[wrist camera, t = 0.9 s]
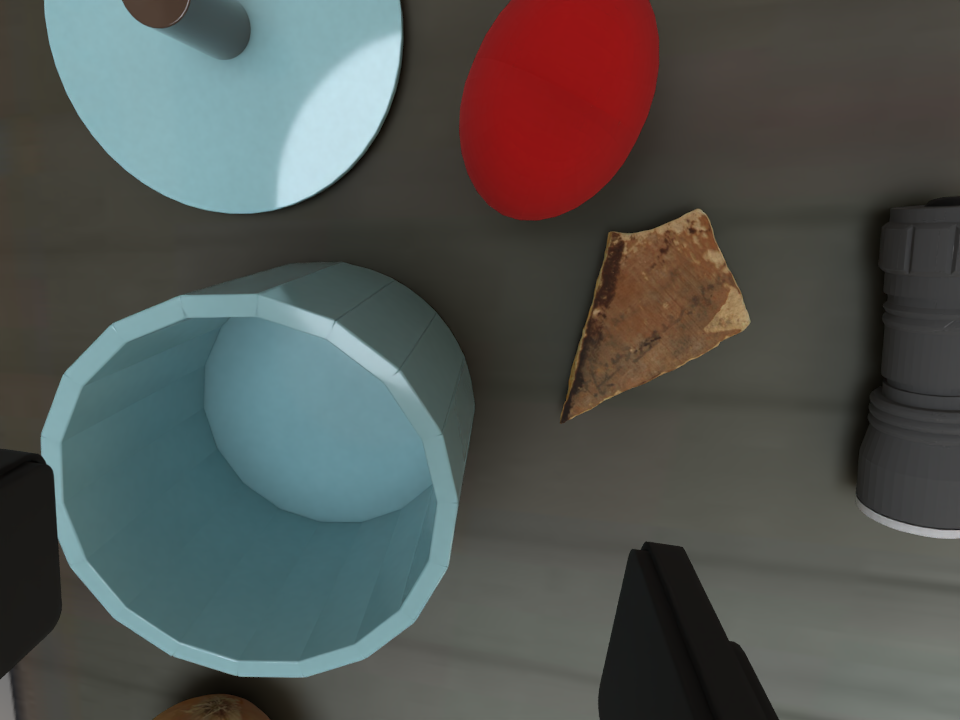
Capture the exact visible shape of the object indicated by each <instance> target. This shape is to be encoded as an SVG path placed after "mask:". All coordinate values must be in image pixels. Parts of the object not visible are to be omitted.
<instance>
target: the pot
mask: <svg viewBox="0 0 960 720" xmlns="http://www.w3.org/2000/svg"><path fill="white" fill-rule="evenodd" d="M474 412H475V401H474V396H473V389H472V382H471V377H470V374H469V370H468V367H467V363H466V359H465V357H464V354H463V353H462V351H461V349H460V346H459V344H458V342H457V341H456V339H455V337H454V336H453V334H452V332H451V331H450V329H449V327H448V326H447V325H446V324H445V322H444V321H443V320H442V319H441V317H440V316H439V315H438V314H437V312H436V311H435V310H434V309H433V308H432V307H431V306H429V305H428V304H427V303H426V302H425V301H424V300H423V299H422V298H421V297H420V296H418V295H417V294H416V293H414V292H413V291H412V290H410V289H409V288H408V287H406V286H404V285H403V284H401V283H399V282H397V281H396V280H394V279H392V278H390V277H388V276H386V275H383V274H381V273H378V272H376V271H374V270H371V269H367V268H364V267H360V266H356V265H353V264H348V263H345V262H309V263H291V264H287V265H283V266H280V267H276V268H273V269H269V270H266V271H262V272H259V273H256V274H252V275H249V276H245V277H242V278H238V279H235V280H231V281H228V282H224V283H221V284H217V285H214V286H210V287H207V288H204V289H200V290H197V291H193V292H190V293H186V294H183V295H179V296H176V297H174V298H172V299H169V300H167V301H164V302H162V303H160V304H157V305H155V306H152V307H150V308H147V309H145V310H143V311H140V312H138V313H135V314H133V315H131V316H128V317H126V318H123V319H121V320H119V321H116V322H114V323H113V324H111V325H110V326H109V327H108V328H107V329H106V330H105V331H104V332H103V333H102V334H101V335H100V336H99V337H98V338H97V339H96V340H95V341H94V342H93V343H92V344H91V345H90V346H89V347H88V349H87V350H86V351H85V352H84V353H83V354H82V355H81V356H80V357H79V358H78V359H77V360H76V361H75V362H74V363H73V364H72V365H71V366H70V367H69V368H68V369H67V370H66V371H65V373H64V374H63V376H62V379H61V381H60V384H59V387H58V389H57V392H56V395H55V398H54V400H53V403H52V406H51V408H50V411H49V414H48V417H47V419H46V422H45V425H44V427H43V430H42V433H41V456H42V457H43V458H44V460H45V461H46V464H47V465H49V466H50V467H51V468H52V470H53V473H54V484H55V500H56V517H57V534H58V540H59V542H60V544H61V547H62V549H63V552H64V554H65V557H66V559H67V561H68V564H69V565H70V568H71V569H72V570H73V571H74V572H75V573H76V575H77V576H78V577H79V578H80V579H81V580H82V582H83V583H84V584H85V585H86V586H87V588H88V589H89V590H90V591H91V592H92V593H93V595H94V596H95V597H96V598H97V599H98V600H99V602H100V603H101V604H102V605H103V606H104V608H105V609H106V610H107V611H108V612H109V613H110V615H111V616H112V617H113V618H115V620H117V621H118V622H120V623H122V624H123V625H125V626H126V627H128V628H129V629H131V630H132V631H134V632H135V633H137V634H138V635H140V636H141V637H143V638H144V639H146V640H147V641H149V642H150V643H152V644H154V645H155V646H157V647H158V648H160V649H161V650H163V651H164V652H166V653H167V654H169V655H170V656H172V655H173V656H174V657H176V658H179V659H183V660H186V661H189V662H192V663H195V664H199V665H202V666H205V667H208V668H211V669H215V670H218V671H221V672H224V673H227V674H231V675H234V676H237V675H238V676H239V677H288V678H302V677H308V676H312V675H315V674H318V673H321V672H325V671H328V670H331V669H335V668H338V667H341V666H344V665H348V664H351V663H354V662H358V661H361V660H364V659H366V658H367V657H369V656H370V655H371V654H373V653H374V652H375V651H377V650H378V649H379V648H381V647H382V646H383V645H385V644H386V643H387V642H389V641H390V640H391V639H393V638H394V637H396V636H397V635H398V634H400V633H401V632H402V631H404V630H405V629H406V628H408V627H409V626H410V625H412V624H413V623H414V622H415V620H417V618H418V617H419V615H420V613H421V612H422V610H423V608H424V607H425V605H426V604H427V602H428V600H429V599H430V597H431V595H432V594H433V592H434V590H435V589H436V587H437V586H438V584H439V582H440V581H441V579H442V577H443V576H444V574H445V572H446V571H447V569H448V566H449V563H450V557H451V551H452V545H453V539H454V533H455V527H456V521H457V515H458V510H459V504H460V498H461V492H462V486H463V480H464V474H465V468H466V462H467V456H468V450H469V444H470V438H471V431H472V425H473V418H474Z"/></svg>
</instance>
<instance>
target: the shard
mask: <svg viewBox="0 0 960 720" xmlns="http://www.w3.org/2000/svg"><path fill="white" fill-rule="evenodd" d="M750 322H751V321H750V319H749V314H748V312H747V310H746V308H745V304H744V302H743V297H742V294H741V291H740V289H739V288H738V286H737V284H736V281H735V279H734V277H733V275H732V273H731V271H730V270H729V269H728V267H727V265H726V261H725V259H724V257H723V255H722V253H721V251H720V249H719V247H718V245H717V242H716V240H715V238H714V233H713V229H712V226H711V223H710V220H709V218H708V216H707V215H706V214H705V213H704V212H703V211H702V210H701V209H695V210H693V211H691V212H689V213H686V214H684V215H683V216H681V217H680V218H678V219H675V220H673V221H671V222H668V223H665V224H663V225H661V226H659V227H656V228H654V229H651V230H645V231H642V232H637V233H620V232H614V231H612V232H609V233H608V238H607V246H606V250H605V253H604V260H603V265H602V267H601V270H600V274H599V277H598V278H597V282H596V287H595V291H594V299H593V302H592V305H591V307H590V310H589V314H588V317H587V321H586V323H585V327H584V328H583V334H582V338H581V340H580V342H579V345H578V349H577V353H576V356H575V359H574V362H573V365H572V368H571V374H570V378H569V388H568V393H567V396H566V401H565V403H564V405H563V409H562V413H561V417H560V423H561V424H562V423H565V422H566V421H567V420H570V419H572V418H574V417H575V416H577V415H579V414H582V413H584V412H585V411H588V410H590V409H592V408H593V407H595V406H597V405H598V404H600V403H601V402H603V401H604V400H606V399H609V398H611V397H613V396H615V395H617V394H619V393H622V392H623V391H626V390H629V389H631V388H633V387H637V386H639V385H642V384H645V383H647V382H649V381H651V380H653V379H654V378H656V377H658V376H660V375H662V374H664V373H667V372H670V371H672V370H674V369H676V368H678V367H680V366H682V365H684V364H685V363H686V362H688V361H689V360H692V359H695V358H698V357H700V356H701V355H703V354H704V353H706V352H708V351H710V350H711V349H713V348H715V347H717V346H718V345H719V343H720V342H721V341H723V340H724V339H726V338H728V337H731V336H733V335H736V334H738V333H740V332H742V331H744V330H745V329H746V327H747V326H748V325H749V323H750Z"/></svg>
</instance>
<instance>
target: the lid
mask: <svg viewBox="0 0 960 720" xmlns="http://www.w3.org/2000/svg"><path fill="white" fill-rule="evenodd" d="M44 7H45V20H46V26H47V32H48V38H49V44H50V47H51V51H52V54H53V58H54V61H55V65H56V68H57V71H58V73H59V76H60V78H61V81H62V83H63V86H64V88H65V91H66V93H67V95H68V97H69V99H70V100H71V102H72V104H73V106H74V108H75V110H76V112H77V113H78V115H79V117H80V118H81V120H82V121H83V123H84V124H85V125H86V127H87V128H88V130H89V131H90V133H91V134H92V136H93V137H94V138H95V139H96V140H97V141H98V143H99V144H100V145H101V146H102V147H103V148H104V150H105V151H106V152H107V153H108V154H109V155H110V156H111V157H112V158H113V159H114V160H115V161H116V162H117V163H119V164H120V165H121V166H122V167H123V168H124V169H125V170H126V171H127V172H129V173H130V174H131V175H133V176H134V177H135V178H137V179H138V180H140V181H141V182H142V183H144V184H145V185H147V186H148V187H150V188H152V189H154V190H155V191H157V192H159V193H161V194H163V195H164V196H166V197H169V198H171V199H173V200H176V201H178V202H181V203H183V204H186V205H188V206H192V207H196V208H200V209H203V210H207V211H213V212H220V213H228V214H255V213H262V212H269V211H276V210H279V209H283V208H286V207H290V206H293V205H296V204H299V203H301V202H303V201H305V200H307V199H310V198H312V197H314V196H316V195H318V194H319V193H321V192H322V191H324V190H325V189H327V188H329V187H330V186H332V185H333V184H335V183H336V182H337V181H338V180H339V179H340V178H342V177H343V176H344V175H345V174H346V173H347V172H349V171H350V170H351V169H352V167H353V166H354V165H355V164H356V163H357V162H358V161H359V160H360V158H361V157H362V156H363V155H364V154H365V153H366V151H367V150H368V148H369V147H370V145H371V144H372V142H373V141H374V139H375V138H376V136H377V135H378V133H379V131H380V129H381V127H382V125H383V123H384V121H385V119H386V117H387V115H388V112H389V110H390V107H391V104H392V101H393V98H394V95H395V92H396V89H397V84H398V79H399V74H400V70H401V64H402V52H403V41H404V37H403V12H402V5H401V0H44Z"/></svg>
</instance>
